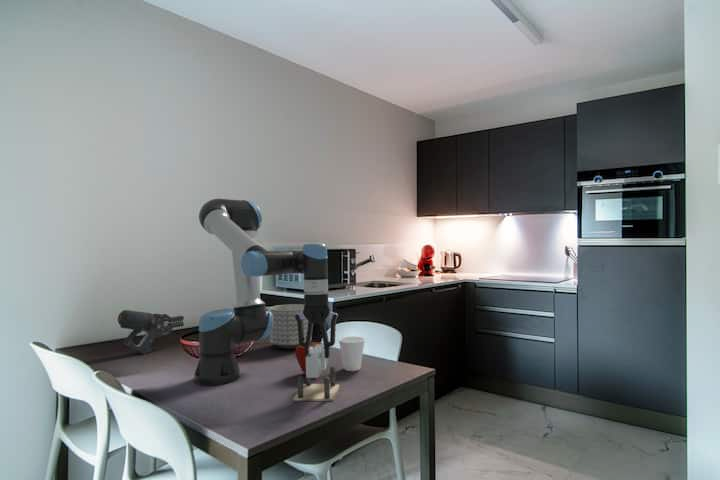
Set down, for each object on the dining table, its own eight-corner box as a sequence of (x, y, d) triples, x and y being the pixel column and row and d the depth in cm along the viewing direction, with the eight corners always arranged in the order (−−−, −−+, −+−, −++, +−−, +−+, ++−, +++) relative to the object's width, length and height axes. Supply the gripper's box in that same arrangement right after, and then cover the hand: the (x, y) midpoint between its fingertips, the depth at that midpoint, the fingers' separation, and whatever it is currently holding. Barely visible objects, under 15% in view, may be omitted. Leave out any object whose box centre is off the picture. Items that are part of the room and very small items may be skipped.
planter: (317, 342, 196) (316, 304, 196) (303, 353, 177) (302, 310, 178) (280, 341, 200) (279, 303, 200) (262, 351, 182) (261, 309, 182)
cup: (362, 373, 147) (362, 342, 147) (335, 372, 149) (335, 341, 149) (367, 365, 157) (367, 336, 157) (342, 364, 159) (342, 336, 159)
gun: (115, 357, 174) (114, 310, 174) (178, 344, 197) (178, 302, 197) (122, 360, 170) (122, 311, 170) (186, 346, 193) (186, 303, 193)
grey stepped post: (318, 377, 120) (318, 356, 120) (305, 377, 120) (304, 356, 120) (328, 362, 136) (328, 344, 137) (316, 362, 137) (316, 344, 137)
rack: (293, 400, 122) (292, 378, 122) (303, 385, 135) (303, 365, 135) (333, 401, 121) (332, 378, 121) (339, 386, 134) (339, 365, 134)
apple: (292, 372, 150) (292, 338, 150) (320, 368, 154) (320, 335, 155) (300, 381, 140) (300, 345, 140) (330, 376, 144) (330, 342, 144)
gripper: (286, 294, 126) (288, 372, 125) (340, 293, 124) (342, 372, 124) (293, 292, 133) (294, 365, 133) (344, 291, 132) (345, 365, 131)
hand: (317, 368), depth 128 cm, fingers closed on grey stepped post, 3 cm apart
